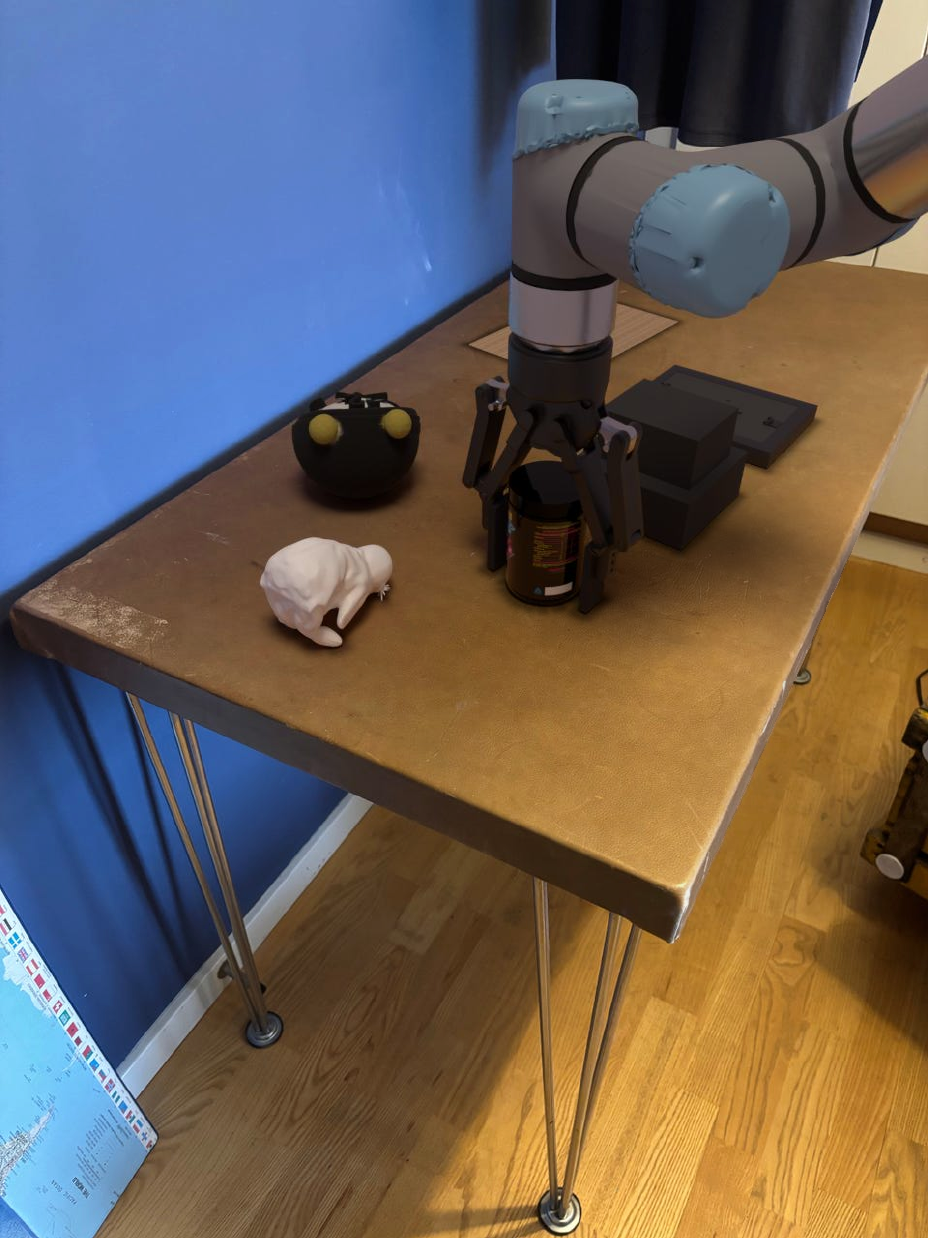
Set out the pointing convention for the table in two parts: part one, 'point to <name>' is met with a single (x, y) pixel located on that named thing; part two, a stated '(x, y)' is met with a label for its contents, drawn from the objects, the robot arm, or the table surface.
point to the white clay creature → (323, 583)
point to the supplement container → (544, 534)
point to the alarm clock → (356, 443)
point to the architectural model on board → (625, 335)
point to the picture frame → (749, 412)
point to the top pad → (675, 431)
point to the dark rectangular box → (688, 501)
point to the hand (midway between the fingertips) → (543, 581)
